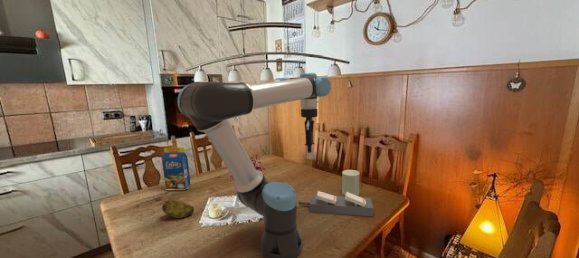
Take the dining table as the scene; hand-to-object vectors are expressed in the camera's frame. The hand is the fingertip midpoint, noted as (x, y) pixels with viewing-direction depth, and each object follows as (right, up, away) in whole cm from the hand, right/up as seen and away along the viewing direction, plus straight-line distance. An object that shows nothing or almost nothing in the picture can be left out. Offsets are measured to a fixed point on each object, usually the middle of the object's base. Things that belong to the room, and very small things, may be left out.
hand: (309, 158), depth 116 cm
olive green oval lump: (-61, -27, 0) cm, 67 cm away
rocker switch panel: (+12, -24, +2) cm, 27 cm away
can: (+24, -21, +19) cm, 37 cm away
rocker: (+8, -18, 0) cm, 20 cm away
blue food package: (-75, -22, +31) cm, 84 cm away
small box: (+21, -18, -3) cm, 28 cm away
